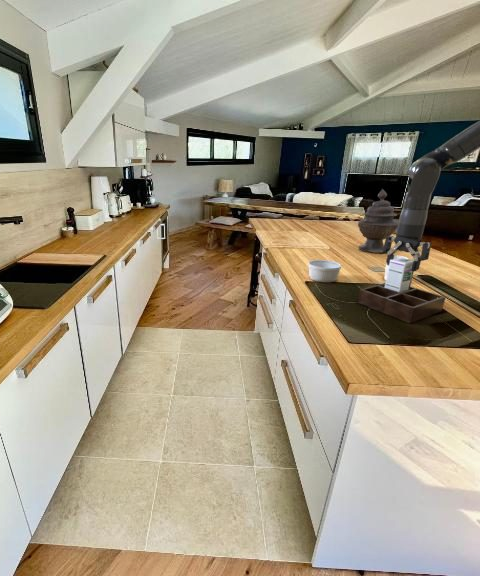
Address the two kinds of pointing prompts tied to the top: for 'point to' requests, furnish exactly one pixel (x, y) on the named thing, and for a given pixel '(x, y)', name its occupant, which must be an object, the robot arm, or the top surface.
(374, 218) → the decorative urn
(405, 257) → the white cup
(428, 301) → the rack
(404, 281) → the syrup box
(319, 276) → the ramekin
